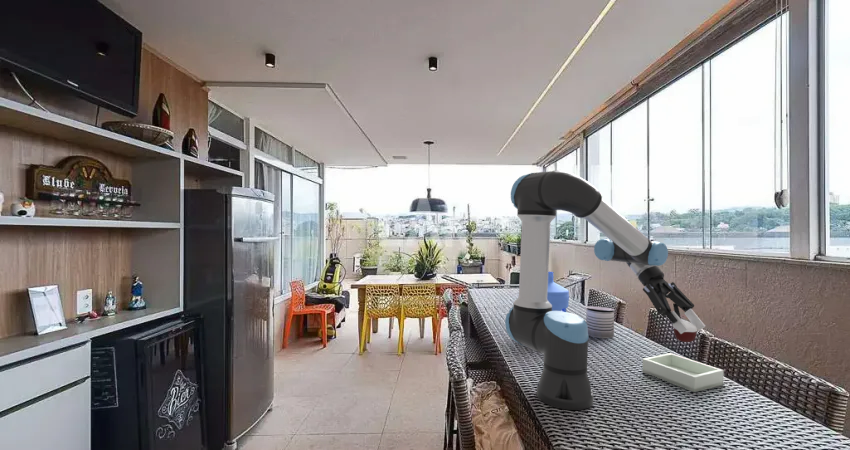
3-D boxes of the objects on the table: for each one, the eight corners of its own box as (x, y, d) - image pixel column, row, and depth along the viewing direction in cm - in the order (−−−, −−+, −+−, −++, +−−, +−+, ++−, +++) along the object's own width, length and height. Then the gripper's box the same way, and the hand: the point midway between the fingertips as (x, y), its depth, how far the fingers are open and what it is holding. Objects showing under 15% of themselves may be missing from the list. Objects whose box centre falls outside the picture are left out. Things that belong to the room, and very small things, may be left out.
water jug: (535, 344, 164) (536, 274, 164) (524, 333, 180) (525, 269, 179) (574, 344, 165) (575, 274, 164) (560, 333, 180) (561, 269, 180)
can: (580, 334, 180) (581, 306, 179) (593, 329, 187) (593, 303, 187) (606, 340, 171) (607, 311, 171) (618, 334, 179) (619, 307, 178)
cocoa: (691, 339, 134) (693, 302, 134) (704, 344, 128) (706, 306, 128) (662, 337, 134) (664, 300, 134) (673, 342, 128) (676, 304, 128)
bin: (694, 392, 120) (694, 377, 120) (642, 372, 136) (642, 358, 136) (723, 384, 126) (723, 370, 126) (670, 365, 142) (670, 353, 142)
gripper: (659, 276, 149) (704, 332, 134) (619, 279, 140) (662, 340, 126) (674, 263, 144) (722, 320, 130) (633, 266, 135) (680, 327, 121)
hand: (693, 329), depth 128 cm, fingers closed on cocoa, 8 cm apart
